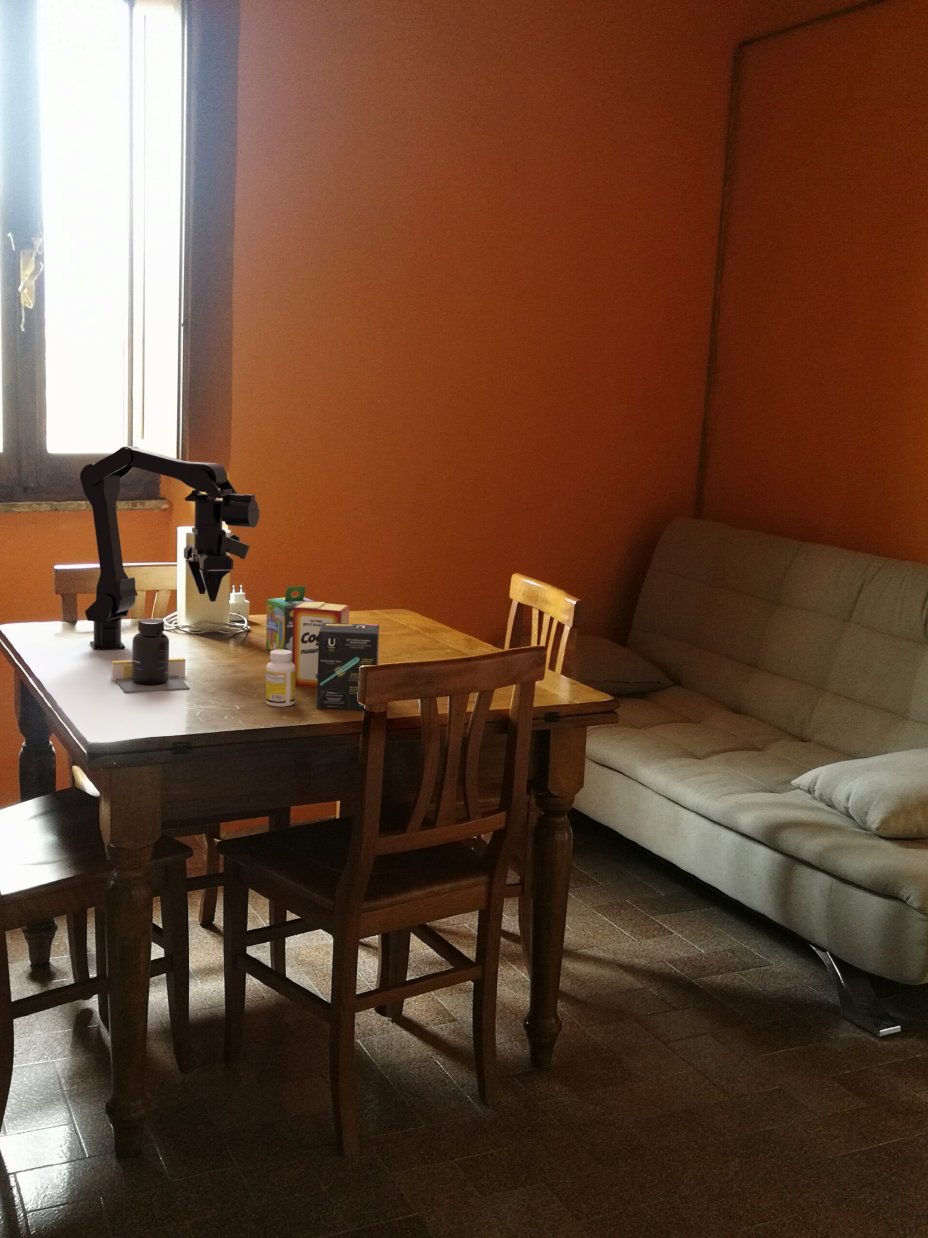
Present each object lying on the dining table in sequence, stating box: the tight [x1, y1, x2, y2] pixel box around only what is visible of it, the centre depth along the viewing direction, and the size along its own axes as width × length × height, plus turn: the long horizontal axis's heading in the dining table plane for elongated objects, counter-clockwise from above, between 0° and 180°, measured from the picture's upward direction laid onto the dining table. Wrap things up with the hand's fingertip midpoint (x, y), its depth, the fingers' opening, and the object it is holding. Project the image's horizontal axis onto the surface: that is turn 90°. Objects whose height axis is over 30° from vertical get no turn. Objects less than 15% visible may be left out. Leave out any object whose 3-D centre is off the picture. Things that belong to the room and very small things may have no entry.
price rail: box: [111, 657, 186, 681], centre depth 232 cm, size 2×14×4 cm, turn 116°
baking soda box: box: [291, 601, 350, 689], centre depth 233 cm, size 10×6×16 cm
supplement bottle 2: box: [265, 650, 296, 708], centre depth 217 cm, size 5×5×10 cm
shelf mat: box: [115, 676, 190, 694], centre depth 226 cm, size 10×12×1 cm
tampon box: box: [316, 623, 380, 711], centre depth 219 cm, size 11×9×15 cm
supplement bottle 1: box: [131, 618, 170, 686], centre depth 226 cm, size 7×7×12 cm
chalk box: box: [265, 585, 317, 651], centre depth 262 cm, size 9×9×15 cm
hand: (207, 597), depth 249 cm, fingers open, 9 cm apart
